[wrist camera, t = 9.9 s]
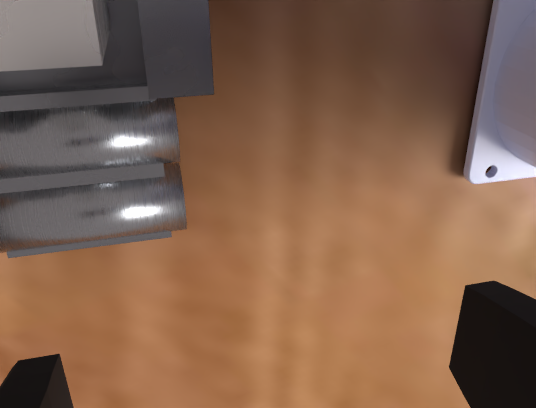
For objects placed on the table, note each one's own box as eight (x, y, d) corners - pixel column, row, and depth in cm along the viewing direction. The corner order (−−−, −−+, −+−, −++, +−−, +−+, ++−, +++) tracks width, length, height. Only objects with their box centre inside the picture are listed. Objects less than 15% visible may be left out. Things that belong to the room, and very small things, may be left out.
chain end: (184, -159, 14) (197, -183, 11) (210, 209, 19) (223, 253, 16) (-162, -169, 12) (-242, -199, 9) (-31, 238, 17) (-60, 292, 14)
